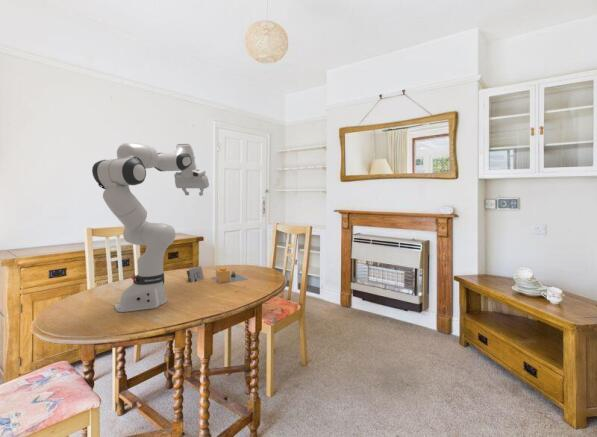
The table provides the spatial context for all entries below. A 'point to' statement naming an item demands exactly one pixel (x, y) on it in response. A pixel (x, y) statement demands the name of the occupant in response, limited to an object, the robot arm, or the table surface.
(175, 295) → the table surface
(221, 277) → the orange knobbed cube
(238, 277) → the board
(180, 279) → the table surface
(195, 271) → the electrical switch
